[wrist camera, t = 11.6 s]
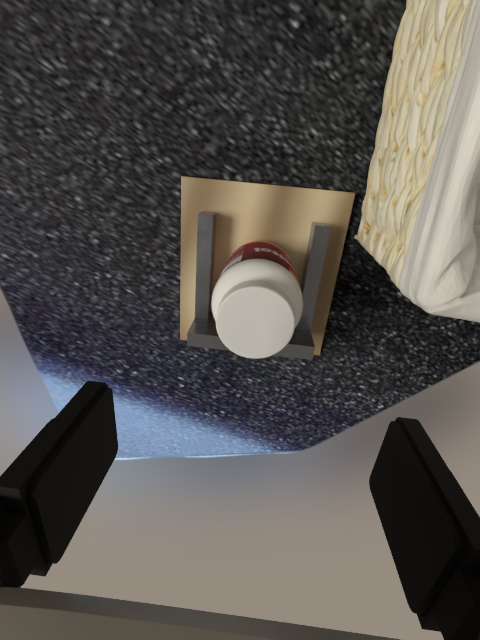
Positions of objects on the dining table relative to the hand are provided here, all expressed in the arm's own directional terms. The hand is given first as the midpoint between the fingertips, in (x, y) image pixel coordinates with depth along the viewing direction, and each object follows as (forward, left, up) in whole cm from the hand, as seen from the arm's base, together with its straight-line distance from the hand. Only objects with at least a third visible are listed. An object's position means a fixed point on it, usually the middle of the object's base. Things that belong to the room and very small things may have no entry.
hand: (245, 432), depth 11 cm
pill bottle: (0, 0, -20) cm, 20 cm away
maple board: (0, 0, -20) cm, 20 cm away
